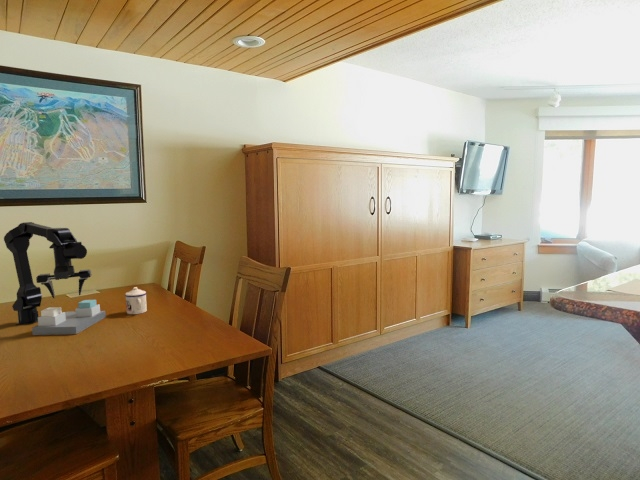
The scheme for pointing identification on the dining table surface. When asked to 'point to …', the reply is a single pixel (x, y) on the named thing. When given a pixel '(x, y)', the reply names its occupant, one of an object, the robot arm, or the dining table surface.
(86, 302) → the teal key
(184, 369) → the dining table surface
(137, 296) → the teacup with lid
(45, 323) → the grey rectangular board
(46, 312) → the cream key
